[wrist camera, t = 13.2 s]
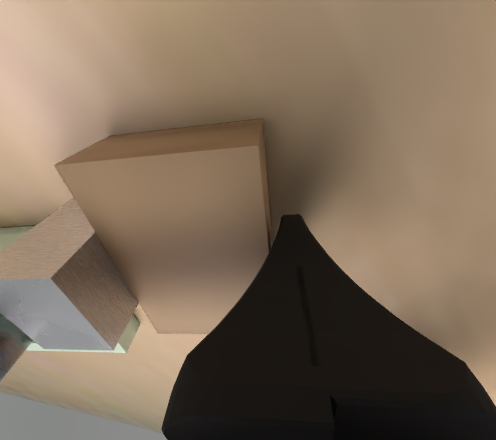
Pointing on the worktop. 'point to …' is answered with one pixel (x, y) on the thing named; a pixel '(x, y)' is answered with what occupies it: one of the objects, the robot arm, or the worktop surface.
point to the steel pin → (11, 344)
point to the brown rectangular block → (179, 216)
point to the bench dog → (65, 285)
